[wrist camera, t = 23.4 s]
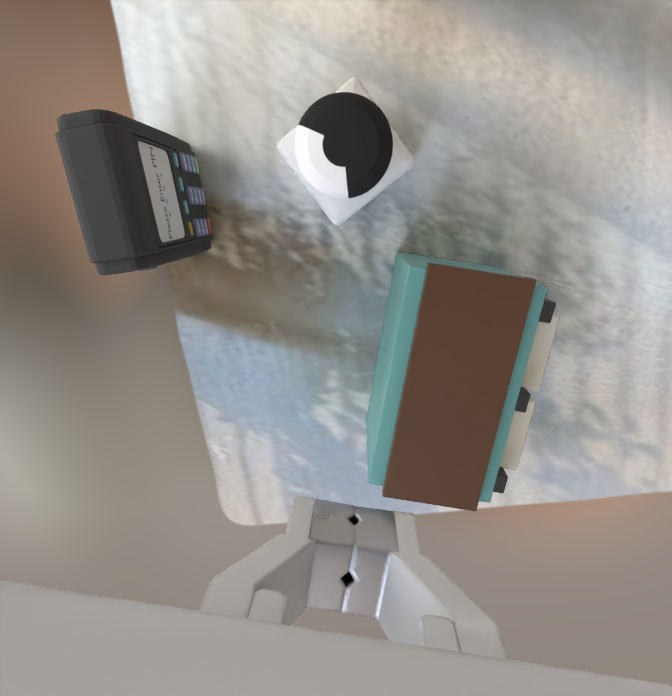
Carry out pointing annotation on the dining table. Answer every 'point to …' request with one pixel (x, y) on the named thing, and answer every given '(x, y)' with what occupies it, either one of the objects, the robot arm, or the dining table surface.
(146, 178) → the card reader
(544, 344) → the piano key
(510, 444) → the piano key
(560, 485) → the dining table surface
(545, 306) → the toy piano
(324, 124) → the medicine bottle
